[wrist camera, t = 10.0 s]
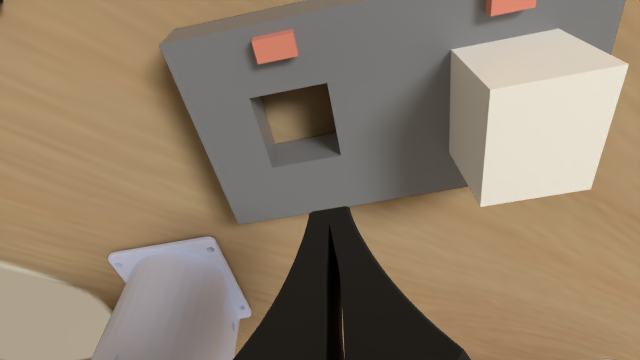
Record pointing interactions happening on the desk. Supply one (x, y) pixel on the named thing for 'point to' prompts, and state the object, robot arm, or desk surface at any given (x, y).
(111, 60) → the desk surface
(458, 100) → the plug
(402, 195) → the socket
